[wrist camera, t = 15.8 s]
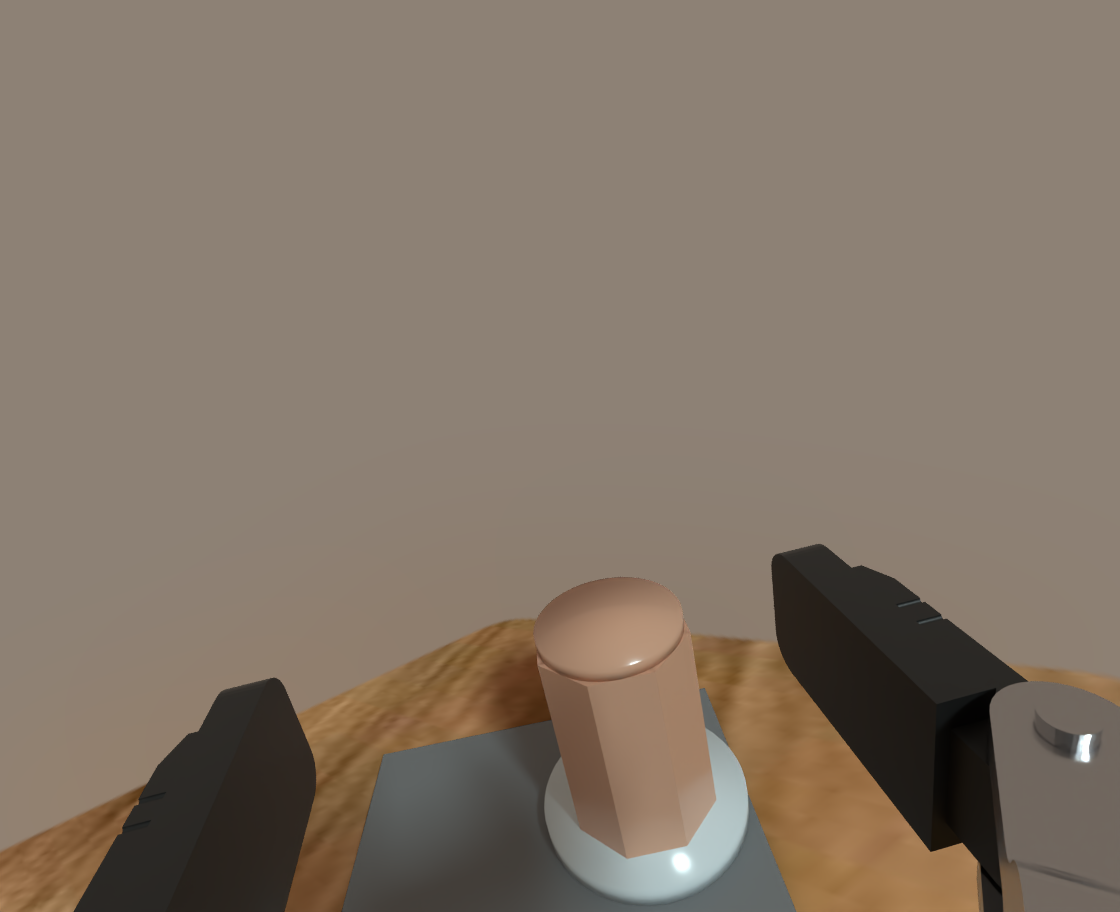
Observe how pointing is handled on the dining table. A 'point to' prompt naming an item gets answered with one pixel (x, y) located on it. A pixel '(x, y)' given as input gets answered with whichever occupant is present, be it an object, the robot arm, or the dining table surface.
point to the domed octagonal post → (627, 713)
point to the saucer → (662, 871)
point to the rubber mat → (507, 836)
